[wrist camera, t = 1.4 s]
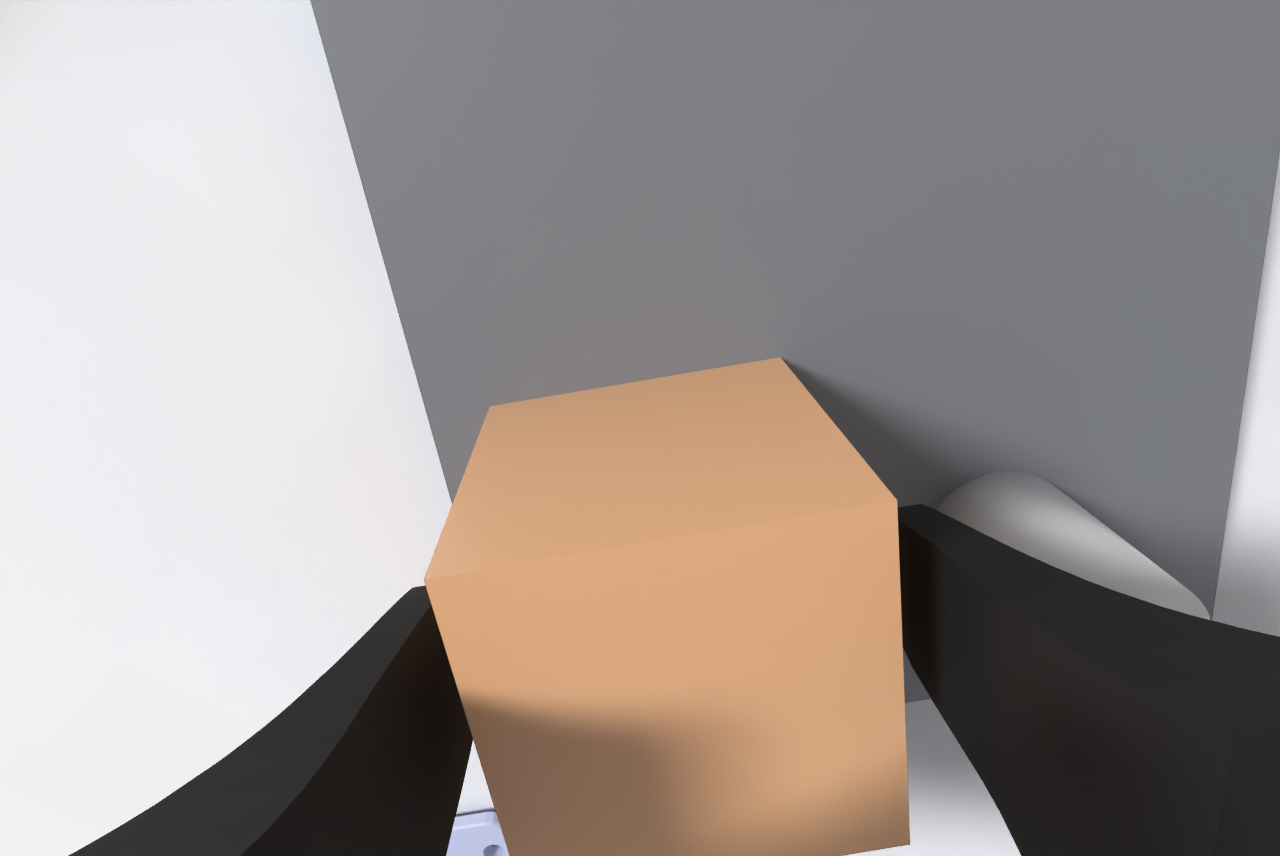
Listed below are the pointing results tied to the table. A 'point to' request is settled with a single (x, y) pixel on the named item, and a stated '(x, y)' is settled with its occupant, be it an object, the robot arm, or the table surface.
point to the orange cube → (678, 622)
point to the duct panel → (851, 235)
